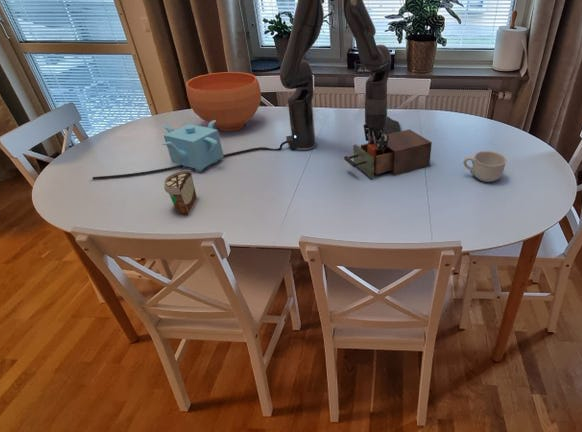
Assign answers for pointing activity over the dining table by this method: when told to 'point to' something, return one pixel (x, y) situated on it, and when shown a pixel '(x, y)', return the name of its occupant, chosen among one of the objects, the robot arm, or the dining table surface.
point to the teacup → (487, 165)
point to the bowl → (224, 98)
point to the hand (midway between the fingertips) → (375, 156)
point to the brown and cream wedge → (181, 191)
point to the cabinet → (408, 151)
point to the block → (372, 150)
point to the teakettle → (194, 145)
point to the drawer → (370, 161)
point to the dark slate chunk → (391, 126)
